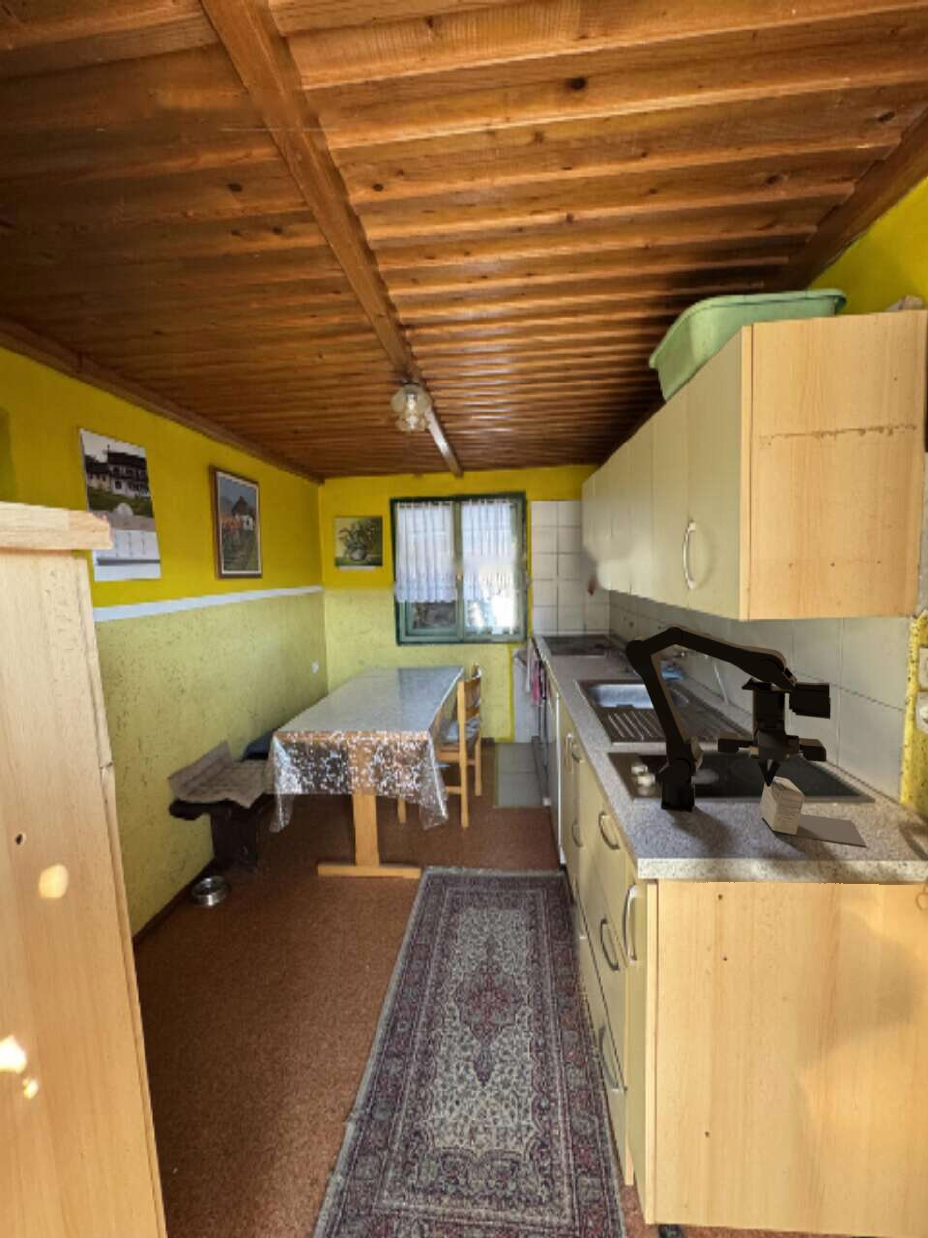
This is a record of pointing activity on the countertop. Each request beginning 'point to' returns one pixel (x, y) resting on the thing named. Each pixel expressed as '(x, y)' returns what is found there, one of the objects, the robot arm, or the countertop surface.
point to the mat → (828, 830)
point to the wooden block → (782, 805)
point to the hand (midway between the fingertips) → (768, 786)
